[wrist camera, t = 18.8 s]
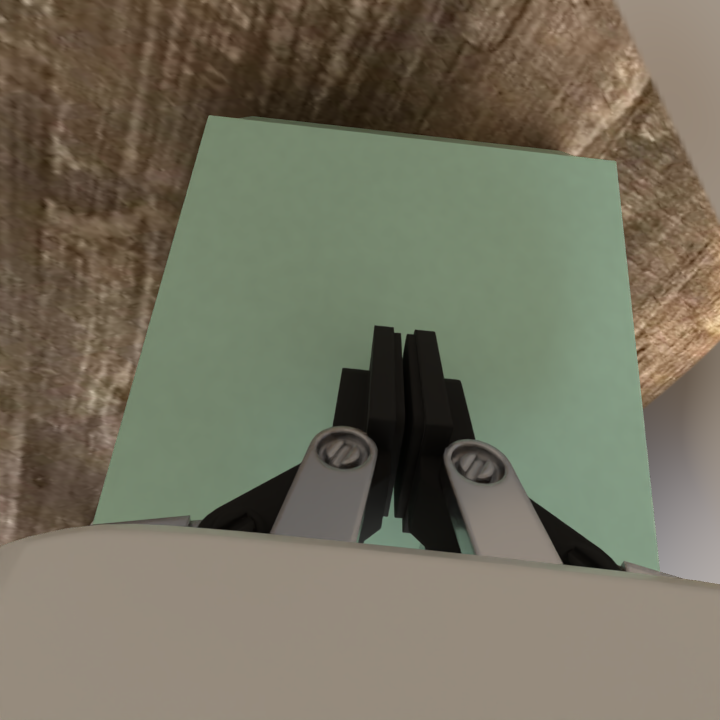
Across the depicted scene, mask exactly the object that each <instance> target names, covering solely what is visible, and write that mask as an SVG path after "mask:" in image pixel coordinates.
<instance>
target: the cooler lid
mask: <svg viewBox="0 0 720 720" xmlns="http://www.w3.org/2000/svg"><path fill="white" fill-rule="evenodd" d="M375 325H377V326H387V327H394V332H395V333H401V340H402V358H403V352H404V346H405V340H406V335H407V334H414V331H415V329H416V330H425V331H435V333H436V338H437V343H438V348H439V354H440V359H441V364H442V369H443V374H444V378H447V379H457V380H460V381H461V383H462V387H463V391H464V395H465V399H466V403H467V407H468V411H469V415H470V419H471V423H472V427H473V431H474V435H475V439H476V440H479V441H482V442H485V443H488V444H490V445H492V446H494V447H495V448H497V449H498V450H500V451H501V452H502V453H503V454H504V455H505V456H506V457H507V459H508V460H509V461H510V463H511V465H512V467H513V469H514V471H515V472H516V474H517V476H518V478H519V480H520V482H521V484H522V486H523V488H524V490H525V492H526V494H527V496H528V497H529V498H530V499H532V500H533V501H535V502H536V503H537V504H539V505H540V506H542V507H543V508H544V509H546V510H547V511H549V512H550V513H551V514H553V515H554V516H556V517H557V518H558V519H560V520H561V521H563V522H564V523H565V524H567V525H568V526H570V527H571V528H572V529H574V530H575V531H577V532H578V533H579V534H581V535H582V536H584V537H585V538H586V539H588V540H589V541H591V542H592V543H593V544H595V545H596V546H598V547H599V548H600V549H602V550H603V551H604V552H605V553H606V554H607V555H609V556H610V557H611V558H612V559H613V560H614V562H615V563H616V564H617V565H619V566H621V564H622V563H623V561H626V562H630V563H633V564H636V565H639V566H643V567H646V568H649V569H653V570H656V571H659V572H660V567H659V558H658V549H657V539H656V530H655V522H654V521H655V520H654V511H653V502H652V493H651V484H650V474H649V465H648V455H647V447H646V436H645V427H644V418H643V408H642V399H641V390H640V380H639V371H638V362H637V352H636V343H635V334H634V324H633V315H632V306H631V296H630V287H629V278H628V268H627V259H626V250H625V240H624V231H623V222H622V212H621V203H620V194H619V184H618V175H617V166H616V161H611V160H602V159H593V158H584V157H576V156H567V155H558V154H549V153H540V152H531V151H522V150H513V149H505V148H496V147H487V146H478V145H469V144H460V143H451V142H442V141H434V140H425V139H416V138H407V137H398V136H389V135H380V134H372V133H363V132H354V131H345V130H336V129H327V128H318V127H309V126H301V125H292V124H283V123H274V122H265V121H256V120H247V119H238V118H230V117H221V116H212V115H209V116H208V119H207V123H206V126H205V130H204V133H203V137H202V140H201V144H200V147H199V151H198V154H197V158H196V161H195V165H194V169H193V172H192V176H191V179H190V183H189V186H188V190H187V193H186V197H185V200H184V204H183V207H182V211H181V214H180V218H179V221H178V225H177V228H176V232H175V235H174V239H173V243H172V246H171V250H170V253H169V257H168V260H167V264H166V267H165V271H164V274H163V278H162V281H161V285H160V288H159V292H158V295H157V299H156V302H155V306H154V310H153V313H152V317H151V320H150V324H149V327H148V331H147V334H146V338H145V341H144V345H143V348H142V352H141V355H140V359H139V362H138V366H137V369H136V373H135V376H134V380H133V384H132V387H131V391H130V394H129V398H128V401H127V405H126V408H125V412H124V415H123V419H122V422H121V426H120V429H119V433H118V436H117V440H116V443H115V447H114V450H113V454H112V458H111V461H110V465H109V468H108V472H107V475H106V479H105V482H104V486H103V489H102V493H101V496H100V500H99V503H98V507H97V510H96V514H95V517H94V521H93V524H103V523H114V522H124V521H135V520H145V519H156V518H166V517H177V516H187V515H190V518H191V521H193V520H203V519H204V518H205V517H206V516H207V515H208V514H209V513H211V512H212V511H214V510H215V509H217V508H218V507H220V506H222V505H224V504H226V503H228V502H230V501H231V500H233V499H235V498H237V497H239V496H241V495H242V494H244V493H246V492H248V491H250V490H252V489H254V488H255V487H257V486H259V485H261V484H263V483H265V482H267V481H268V480H270V479H272V478H274V477H276V476H278V475H279V474H281V473H283V472H285V471H287V470H289V469H291V468H292V467H294V466H296V465H298V464H300V463H301V462H302V460H303V458H304V456H305V453H306V451H307V449H308V447H309V445H310V442H311V441H312V439H313V438H314V436H315V435H316V434H318V433H319V432H321V431H322V430H324V429H327V428H330V427H332V426H333V420H334V414H335V408H336V403H337V397H338V391H339V385H340V379H341V373H342V368H351V369H361V370H369V367H370V358H371V350H372V341H373V333H374V326H375ZM364 543H365V544H374V545H384V546H393V547H403V548H413V549H419V546H420V542H419V541H418V540H417V539H416V538H415V537H414V536H413V535H412V534H411V533H402V518H395V517H394V487H393V493H392V498H391V503H390V509H389V514H388V517H384V516H383V520H382V526H381V529H380V530H379V531H377V532H376V533H375V534H373V535H372V536H371V537H369V538H368V539H367V540H365V541H364Z"/></svg>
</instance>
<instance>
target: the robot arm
mask: <svg viewBox="0 0 720 720" xmlns="http://www.w3.org/2000/svg"><path fill="white" fill-rule="evenodd" d="M393 487H394V517H395V518H402V533H411V534H412V535H413V536H414V537H415V538H416V539H417V540H418V541H419V542H420V546H419V549H413V548H403V547H393V546H384V545H374V544H365V543H364V541H365V540H367V539H368V538H369V537H371V536H372V535H373V534H375V533H376V532H377V531H379V530H380V529H381V526H382V520H383V516H384V517H388V514H389V509H390V503H391V498H392V493H393ZM0 720H720V584H714V583H708V582H702V581H696V580H688V579H682V578H679V577H676V576H672V575H669V574H666V573H663V572H659V571H656V570H653V569H649V568H646V567H643V566H639V565H636V564H633V563H630V562H626V561H623V563H622V564H621V566H619V565H617V564H616V563H615V562H614V560H613V559H612V558H611V557H610V556H609V555H607V554H606V553H605V552H604V551H603V550H602V549H600V548H599V547H598V546H596V545H595V544H593V543H592V542H591V541H589V540H588V539H586V538H585V537H584V536H582V535H581V534H579V533H578V532H577V531H575V530H574V529H572V528H571V527H570V526H568V525H567V524H565V523H564V522H563V521H561V520H560V519H558V518H557V517H556V516H554V515H553V514H551V513H550V512H549V511H547V510H546V509H544V508H543V507H542V506H540V505H539V504H537V503H536V502H535V501H533V500H532V499H530V498H529V497H528V496H527V494H526V492H525V490H524V488H523V486H522V484H521V482H520V480H519V478H518V476H517V474H516V472H515V471H514V469H513V467H512V465H511V463H510V461H509V460H508V459H507V457H506V456H505V455H504V454H503V453H502V452H501V451H500V450H498V449H497V448H495V447H494V446H492V445H490V444H488V443H485V442H482V441H479V440H476V439H475V435H474V431H473V427H472V423H471V419H470V415H469V411H468V407H467V403H466V399H465V395H464V391H463V387H462V383H461V381H460V380H457V379H447V378H444V374H443V369H442V364H441V359H440V354H439V348H438V343H437V338H436V333H435V331H425V330H416V329H415V331H414V334H407V335H406V340H405V346H404V352H403V358H402V340H401V333H395V332H394V327H387V326H377V325H375V326H374V333H373V341H372V350H371V358H370V367H369V370H361V369H351V368H342V373H341V379H340V385H339V391H338V397H337V403H336V408H335V414H334V420H333V426H332V427H330V428H327V429H324V430H322V431H321V432H319V433H318V434H316V435H315V436H314V438H313V439H312V441H311V442H310V445H309V447H308V449H307V451H306V453H305V456H304V458H303V460H302V462H301V463H300V464H298V465H296V466H294V467H292V468H291V469H289V470H287V471H285V472H283V473H281V474H279V475H278V476H276V477H274V478H272V479H270V480H268V481H267V482H265V483H263V484H261V485H259V486H257V487H255V488H254V489H252V490H250V491H248V492H246V493H244V494H242V495H241V496H239V497H237V498H235V499H233V500H231V501H230V502H228V503H226V504H224V505H222V506H220V507H218V508H217V509H215V510H214V511H212V512H211V513H209V514H208V515H207V516H206V517H205V518H204V519H203V520H193V521H191V518H190V515H187V516H177V517H166V518H156V519H145V520H135V521H124V522H114V523H103V524H93V525H88V526H84V527H75V528H66V529H62V530H57V531H53V532H48V533H44V534H39V535H34V536H30V537H27V538H23V539H20V540H17V541H13V542H10V543H7V544H5V545H2V546H0Z"/></svg>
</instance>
